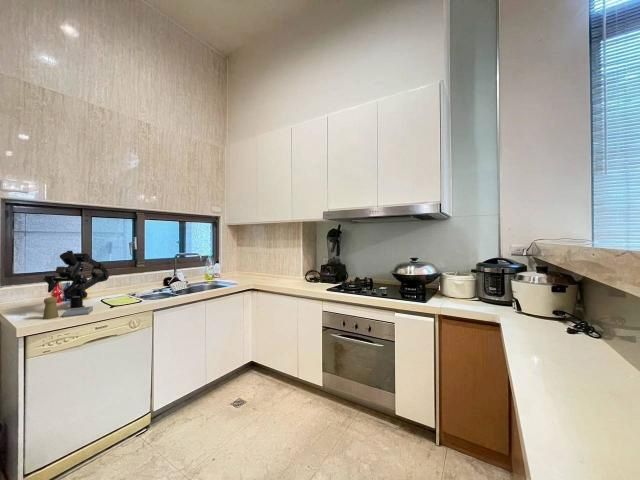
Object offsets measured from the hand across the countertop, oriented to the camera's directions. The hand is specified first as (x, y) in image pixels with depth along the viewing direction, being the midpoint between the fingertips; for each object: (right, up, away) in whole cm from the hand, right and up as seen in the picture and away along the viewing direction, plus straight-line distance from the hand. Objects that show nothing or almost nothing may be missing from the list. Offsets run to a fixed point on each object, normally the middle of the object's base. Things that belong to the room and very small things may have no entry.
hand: (58, 291), depth 144 cm
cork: (+1, -13, -5) cm, 14 cm away
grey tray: (+9, -13, +3) cm, 16 cm away
